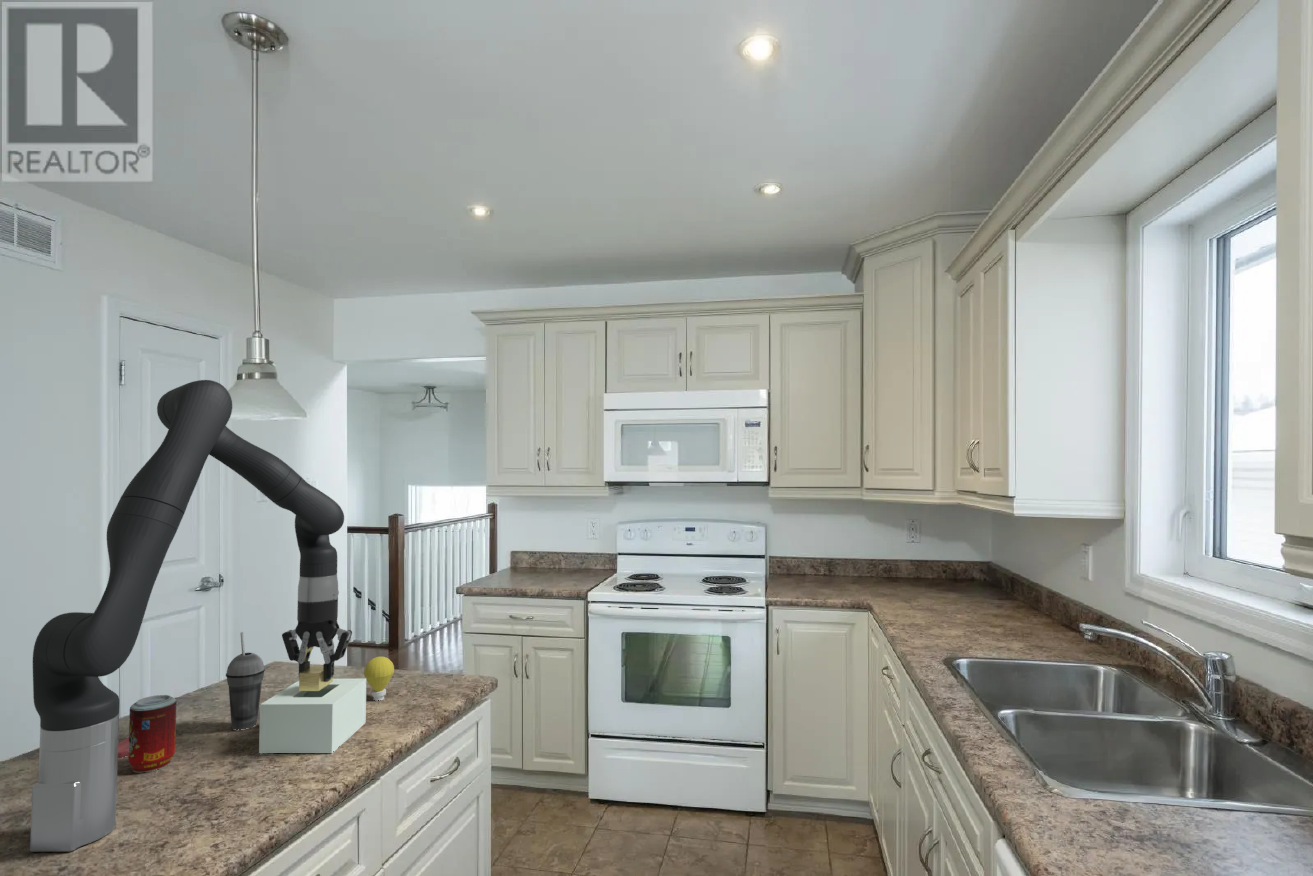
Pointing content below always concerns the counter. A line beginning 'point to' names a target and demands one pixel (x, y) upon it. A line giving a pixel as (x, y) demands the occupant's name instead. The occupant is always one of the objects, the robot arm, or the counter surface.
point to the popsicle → (123, 748)
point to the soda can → (152, 733)
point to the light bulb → (378, 675)
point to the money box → (312, 717)
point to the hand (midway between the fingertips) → (316, 680)
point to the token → (313, 679)
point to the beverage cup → (245, 688)
